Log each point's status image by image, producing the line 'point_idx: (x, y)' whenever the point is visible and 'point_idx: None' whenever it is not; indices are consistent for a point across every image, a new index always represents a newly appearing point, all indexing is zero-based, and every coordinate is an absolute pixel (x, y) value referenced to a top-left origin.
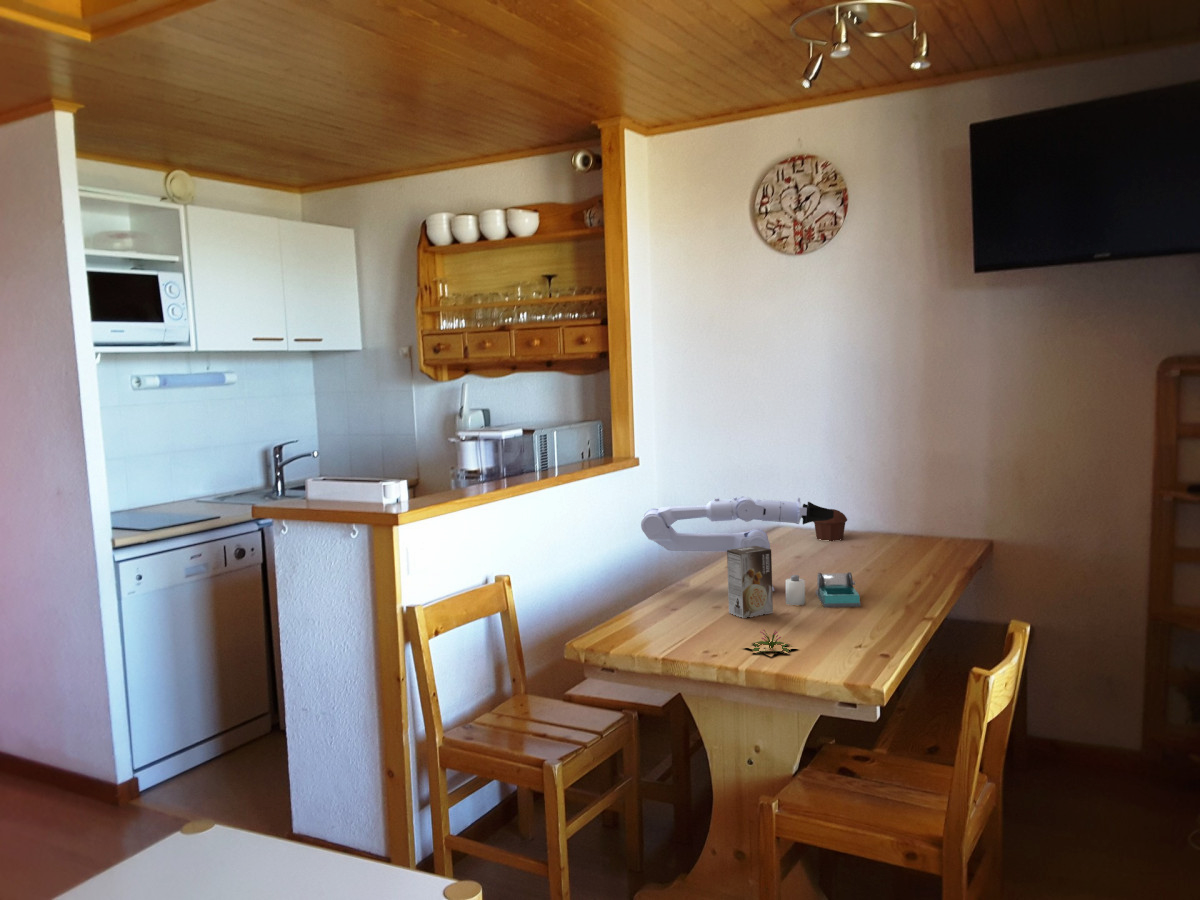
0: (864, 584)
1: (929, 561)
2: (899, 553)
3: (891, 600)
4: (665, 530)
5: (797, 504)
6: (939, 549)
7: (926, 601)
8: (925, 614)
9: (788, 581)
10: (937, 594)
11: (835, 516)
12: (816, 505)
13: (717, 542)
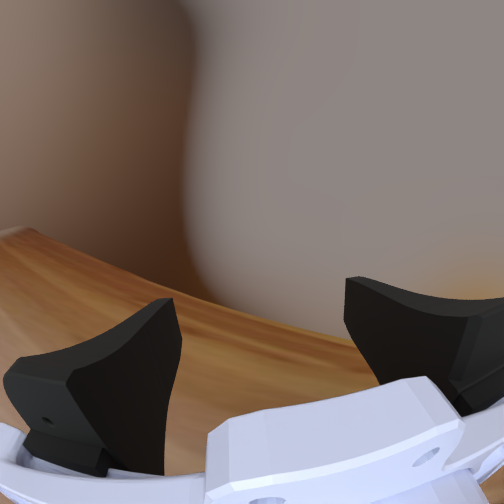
0: (186, 408)
1: (64, 279)
2: (8, 285)
3: (327, 386)
4: None
5: (466, 474)
6: (25, 256)
7: (319, 346)
8: None
9: None
10: (271, 328)
11: None
12: (451, 299)
13: None
